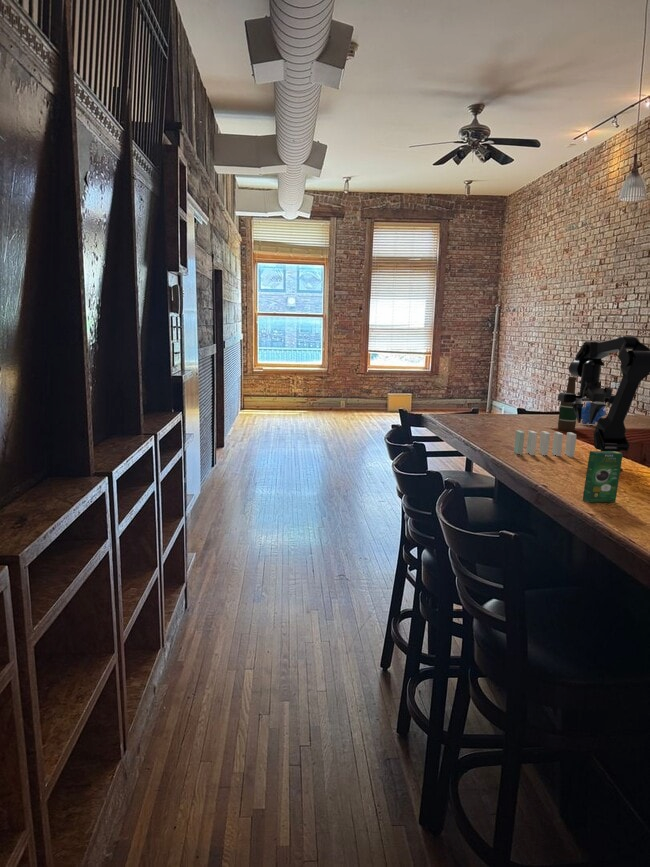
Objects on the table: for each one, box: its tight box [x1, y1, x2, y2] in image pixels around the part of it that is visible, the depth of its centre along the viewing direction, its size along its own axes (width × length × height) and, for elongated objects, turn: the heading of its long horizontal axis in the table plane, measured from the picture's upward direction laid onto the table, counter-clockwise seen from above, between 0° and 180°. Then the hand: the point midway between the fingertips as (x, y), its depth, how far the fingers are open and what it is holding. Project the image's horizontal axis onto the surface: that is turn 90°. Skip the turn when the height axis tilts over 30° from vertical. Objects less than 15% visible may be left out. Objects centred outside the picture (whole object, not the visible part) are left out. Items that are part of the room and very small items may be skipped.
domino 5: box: [564, 431, 577, 458], centre depth 192 cm, size 5×2×8 cm, turn 177°
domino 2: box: [525, 430, 538, 456], centre depth 193 cm, size 5×2×8 cm, turn 177°
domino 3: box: [538, 430, 551, 456], centre depth 193 cm, size 5×2×8 cm, turn 177°
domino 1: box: [513, 429, 525, 456], centre depth 193 cm, size 5×2×8 cm, turn 177°
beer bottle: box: [557, 376, 577, 432], centre depth 246 cm, size 8×8×24 cm
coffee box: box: [582, 450, 624, 504], centre depth 139 cm, size 8×3×13 cm, turn 102°
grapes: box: [581, 401, 607, 425], centre depth 263 cm, size 12×7×12 cm, turn 64°
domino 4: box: [551, 431, 565, 457], centre depth 193 cm, size 5×2×8 cm, turn 177°
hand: (584, 422), depth 191 cm, fingers open, 4 cm apart
